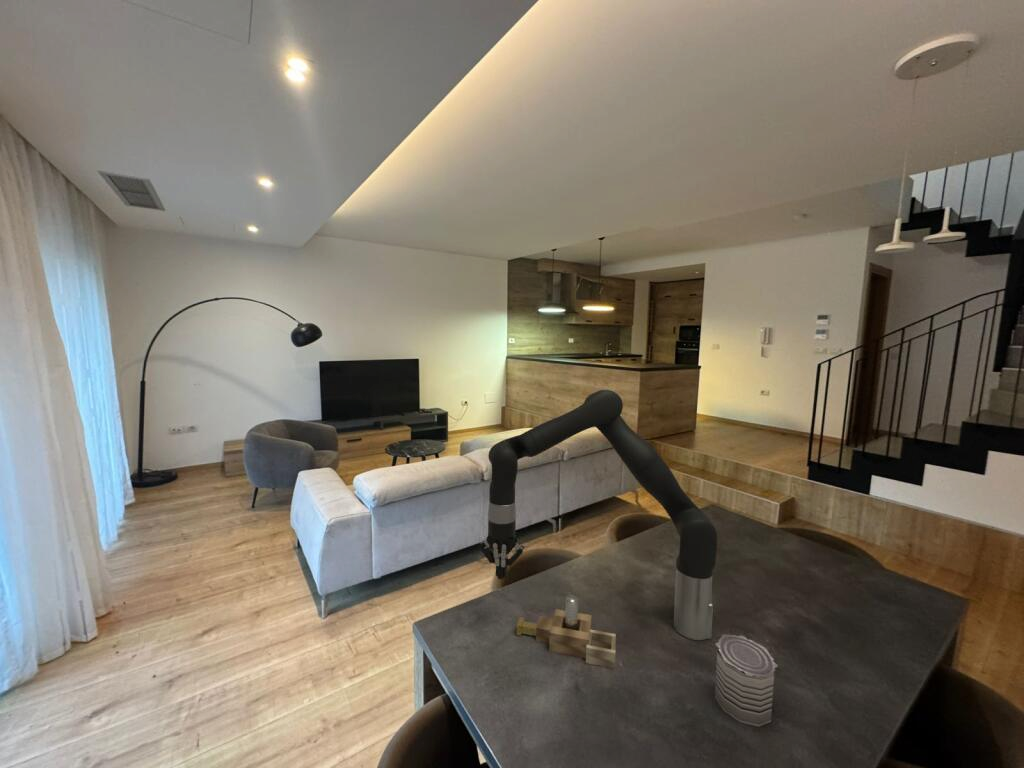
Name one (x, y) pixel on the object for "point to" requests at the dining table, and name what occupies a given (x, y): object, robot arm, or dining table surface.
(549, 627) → the socket block
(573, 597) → the rod
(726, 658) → the can
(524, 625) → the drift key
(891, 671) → the dining table surface
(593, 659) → the frame
